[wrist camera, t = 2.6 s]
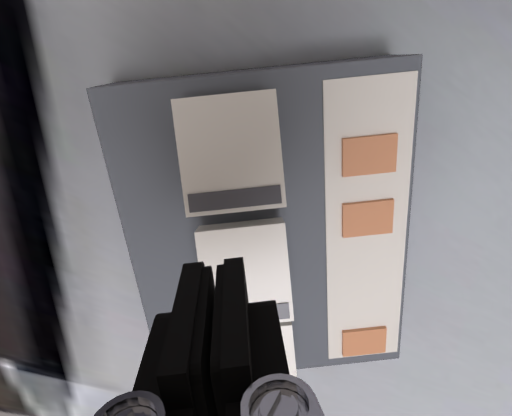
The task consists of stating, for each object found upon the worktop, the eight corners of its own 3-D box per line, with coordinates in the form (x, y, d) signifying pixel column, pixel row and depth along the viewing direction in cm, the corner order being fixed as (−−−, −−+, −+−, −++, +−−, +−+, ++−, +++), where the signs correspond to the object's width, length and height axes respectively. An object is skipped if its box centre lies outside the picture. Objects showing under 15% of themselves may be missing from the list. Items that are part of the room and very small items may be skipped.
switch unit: (389, 54, 21) (433, 54, 16) (377, 318, 28) (405, 369, 24) (112, 82, 21) (77, 90, 16) (172, 340, 28) (160, 396, 24)
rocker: (272, 96, 17) (276, 88, 15) (282, 202, 18) (287, 207, 16) (178, 105, 17) (170, 98, 15) (192, 211, 18) (185, 217, 16)
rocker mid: (281, 217, 19) (285, 223, 17) (290, 306, 20) (294, 321, 18) (199, 225, 19) (193, 232, 17) (210, 315, 20) (206, 331, 18)
